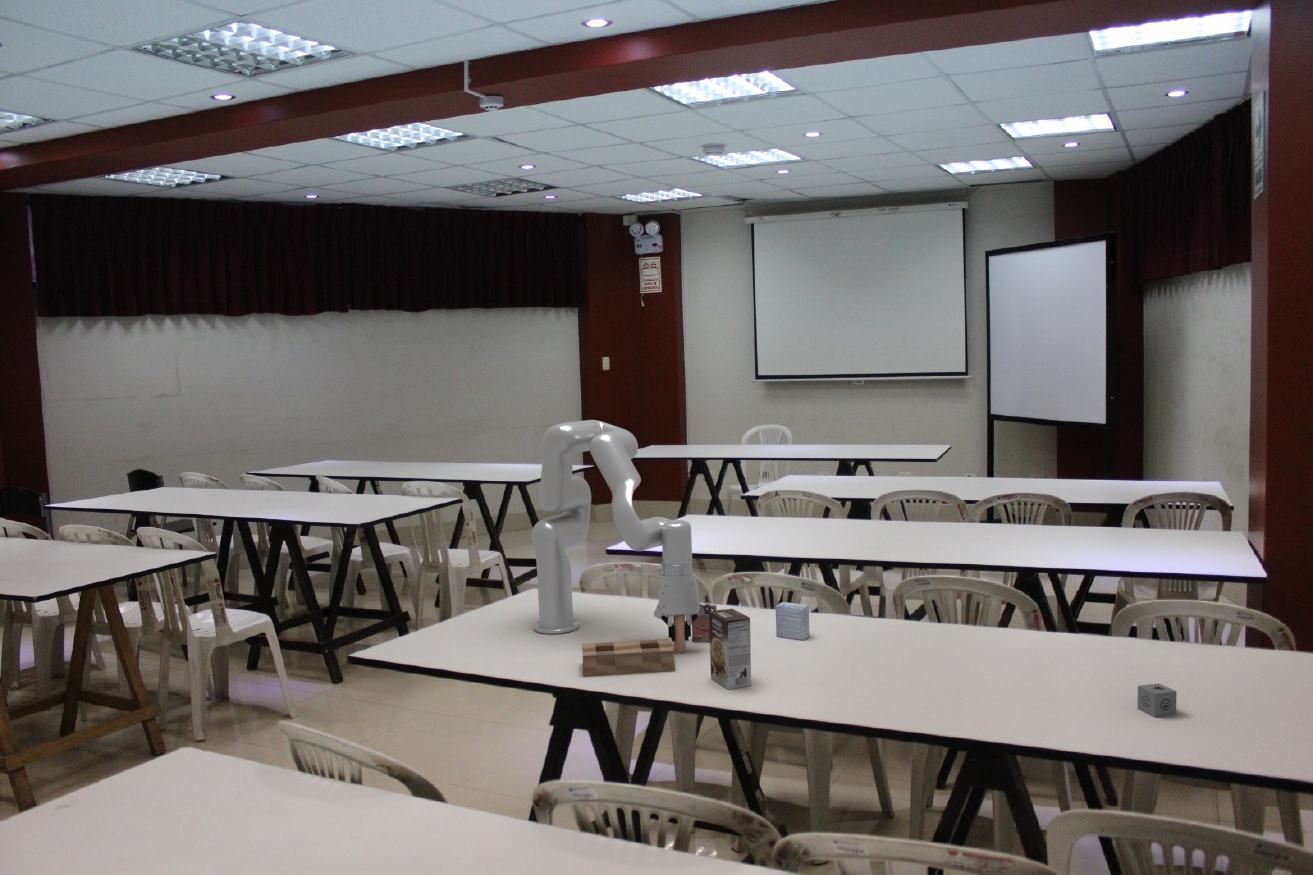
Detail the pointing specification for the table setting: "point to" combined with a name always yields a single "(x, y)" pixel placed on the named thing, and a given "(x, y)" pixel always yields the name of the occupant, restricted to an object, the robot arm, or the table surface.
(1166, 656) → the table surface
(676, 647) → the peg
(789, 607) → the medicine box
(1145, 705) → the dice cube
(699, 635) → the lighter
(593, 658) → the hole block
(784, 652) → the table surface
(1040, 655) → the table surface
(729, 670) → the coffee box
